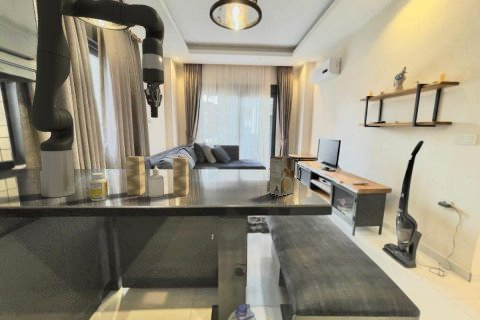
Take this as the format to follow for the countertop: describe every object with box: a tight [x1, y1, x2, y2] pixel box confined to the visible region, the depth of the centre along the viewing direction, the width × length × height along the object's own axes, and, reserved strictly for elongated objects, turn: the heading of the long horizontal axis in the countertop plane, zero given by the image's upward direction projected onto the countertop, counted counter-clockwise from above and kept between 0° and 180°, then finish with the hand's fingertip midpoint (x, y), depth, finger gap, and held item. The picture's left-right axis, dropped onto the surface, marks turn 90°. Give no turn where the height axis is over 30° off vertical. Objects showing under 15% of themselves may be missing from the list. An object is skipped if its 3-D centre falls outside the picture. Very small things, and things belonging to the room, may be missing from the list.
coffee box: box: [268, 155, 296, 197], centre depth 93 cm, size 9×6×16 cm
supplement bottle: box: [89, 172, 109, 202], centre depth 81 cm, size 5×5×10 cm
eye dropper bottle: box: [147, 165, 165, 198], centre depth 86 cm, size 4×6×12 cm
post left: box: [125, 155, 146, 196], centre depth 88 cm, size 5×5×15 cm
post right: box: [172, 156, 190, 197], centre depth 89 cm, size 5×5×15 cm
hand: (154, 117), depth 83 cm, fingers closed
